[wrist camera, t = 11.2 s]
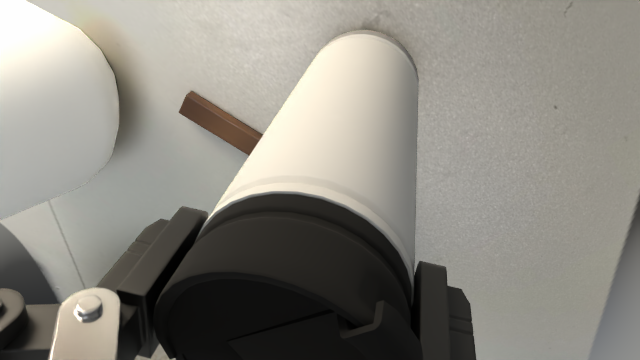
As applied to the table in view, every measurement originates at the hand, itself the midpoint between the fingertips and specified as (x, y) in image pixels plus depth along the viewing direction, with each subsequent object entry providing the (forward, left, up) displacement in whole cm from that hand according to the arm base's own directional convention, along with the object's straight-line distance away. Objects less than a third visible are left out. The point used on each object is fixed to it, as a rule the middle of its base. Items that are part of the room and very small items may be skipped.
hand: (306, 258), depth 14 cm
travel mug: (0, 0, -16) cm, 16 cm away
